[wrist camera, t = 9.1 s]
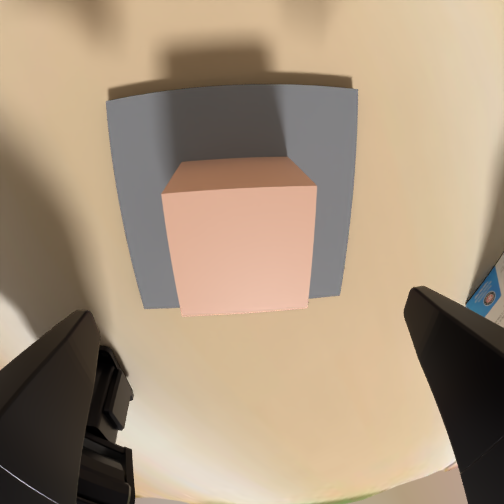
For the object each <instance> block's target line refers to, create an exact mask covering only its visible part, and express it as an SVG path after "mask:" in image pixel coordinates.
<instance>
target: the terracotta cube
mask: <svg viewBox="0 0 504 504" xmlns="http://www.w3.org/2000/svg"><path fill="white" fill-rule="evenodd" d="M161 196H162V204H163V211H164V218H165V225H166V231H167V238H168V244H169V250H170V256H171V262H172V268H173V273H174V279H175V284H176V289H177V294H178V299H179V304H180V309H181V314H182V317H183V316H206V315H225V314H241V313H256V312H269V311H281V310H293V309H303V308H308V298H309V288H310V278H311V267H312V256H313V243H314V230H315V215H316V198H317V185H316V184H315V183H314V182H313V181H312V180H311V179H310V178H309V177H308V176H307V175H306V174H305V173H304V172H303V171H302V170H301V169H300V168H299V167H298V166H297V165H296V164H295V163H294V162H293V161H292V160H291V159H290V158H289V157H250V158H229V159H212V160H198V161H186V162H181V164H180V165H179V167H178V168H177V170H176V171H175V173H174V175H173V176H172V178H171V179H170V181H169V182H168V184H167V186H166V187H165V189H164V190H163V192H162V194H161Z"/></svg>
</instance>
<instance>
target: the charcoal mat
mask: <svg viewBox="0 0 504 504" xmlns="http://www.w3.org/2000/svg"><path fill="white" fill-rule="evenodd" d="M106 109H107V120H108V130H109V139H110V147H111V154H112V162H113V168H114V175H115V181H116V187H117V193H118V199H119V204H120V210H121V215H122V220H123V225H124V230H125V234H126V239H127V243H128V248H129V252H130V256H131V261H132V265H133V269H134V273H135V277H136V280H137V284H138V288H139V292H140V295H141V299H142V302H143V306H144V309H157V308H180V304H179V299H178V294H177V289H176V284H175V279H174V273H173V268H172V262H171V256H170V250H169V244H168V238H167V231H166V225H165V218H164V211H163V204H162V196H161V194H162V192H163V190H164V189H165V187H166V186H167V184H168V182H169V181H170V179H171V178H172V176H173V175H174V173H175V171H176V170H177V168H178V167H179V165H180V164H181V162H186V161H198V160H212V159H229V158H250V157H289V158H290V159H291V160H292V161H293V162H294V163H295V164H296V165H297V166H298V167H299V168H300V169H301V170H302V171H303V172H304V173H305V174H306V175H307V176H308V177H309V178H310V179H311V180H312V181H313V182H314V183H315V184H316V185H317V198H316V215H315V230H314V243H313V256H312V267H311V278H310V288H309V298H308V299H310V298H320V297H330V296H339V295H340V291H341V285H342V279H343V272H344V265H345V258H346V251H347V243H348V235H349V226H350V217H351V208H352V197H353V186H354V174H355V159H356V141H357V115H358V89H350V88H340V87H328V86H314V85H290V84H247V85H223V86H208V87H197V88H186V89H177V90H169V91H162V92H155V93H148V94H142V95H136V96H130V97H125V98H120V99H115V100H110V101H106Z"/></svg>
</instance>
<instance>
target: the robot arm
mask: <svg viewBox="0 0 504 504" xmlns="http://www.w3.org/2000/svg"><path fill="white" fill-rule="evenodd" d="M404 318H405V321H406V324H407V327H408V330H409V332H410V335H411V338H412V341H413V344H414V347H415V350H416V353H417V356H418V359H419V362H420V364H421V367H422V369H423V371H424V374H425V376H426V378H427V381H428V383H429V386H430V388H431V391H432V393H433V396H434V398H435V401H436V403H437V406H438V409H439V411H440V414H441V417H442V419H443V422H444V425H445V428H446V431H447V433H448V436H449V439H450V442H451V445H452V448H453V451H454V455H455V458H456V461H457V464H458V468H459V471H460V475H461V479H462V482H463V486H464V489H465V493H466V497H467V501H468V504H504V328H503V327H501V326H500V325H498V324H496V323H494V322H492V321H490V320H489V319H487V318H485V317H483V316H481V315H479V314H477V313H476V312H474V311H472V310H470V309H468V308H466V307H464V306H462V305H460V304H459V303H457V302H455V301H453V300H451V299H449V298H447V297H445V296H443V295H441V294H439V293H437V292H435V291H433V290H431V289H429V288H427V287H425V286H418V287H413V288H412V289H411V290H410V292H409V295H408V298H407V302H406V305H405V308H404ZM99 345H100V333H99V330H98V328H97V325H96V323H95V320H94V318H93V316H92V313H91V312H90V311H88V310H76V311H74V312H73V313H72V314H70V315H69V316H68V317H67V318H65V319H64V320H63V321H61V322H60V323H59V324H57V325H56V326H55V327H53V328H52V329H51V330H50V331H48V332H47V333H46V334H44V335H43V336H42V337H41V338H39V339H38V340H37V341H36V342H34V343H33V344H32V345H31V346H29V347H28V348H27V349H26V350H24V351H23V352H22V353H21V354H19V355H18V356H17V357H16V358H15V359H13V360H12V361H11V362H10V363H8V364H7V365H6V366H5V367H4V368H3V369H1V370H0V504H134V503H135V487H134V475H133V461H132V449H129V448H127V447H122V446H119V445H117V444H115V443H116V438H117V432H118V430H121V431H122V430H123V429H124V426H125V421H126V416H127V411H128V406H129V401H131V400H133V397H134V394H133V392H132V389H131V387H130V385H129V383H128V381H127V379H126V377H125V375H124V373H123V371H122V370H121V369H120V367H119V365H118V363H117V360H116V358H115V356H114V354H113V352H112V350H111V349H110V348H108V347H106V346H99Z"/></svg>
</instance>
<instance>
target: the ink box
mask: <svg viewBox="0 0 504 504" xmlns="http://www.w3.org/2000/svg"><path fill="white" fill-rule="evenodd" d="M466 308H468V309H470V310H472V311H474V312H476V313H477V314H479V315H481V316H483V317H485V318H487V319H489V320H490V321H492V322H494V323H496V324H498V325H500V326H501V327H503V328H504V253H503V254H502V256H501V257H500V259H499V260H498V262H497V263H496V265H495V266H494V268H493V269H492V271H491V272H490V273H489V275H488V276H487V278H486V279H485V280H484V282H483V283H482V284H481V286H480V287H479V288H478V290H477V291H476V292H475V293H474V295H473V296H472V297H471V299H470V300H469V301H468V302H467V304H466Z"/></svg>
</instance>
